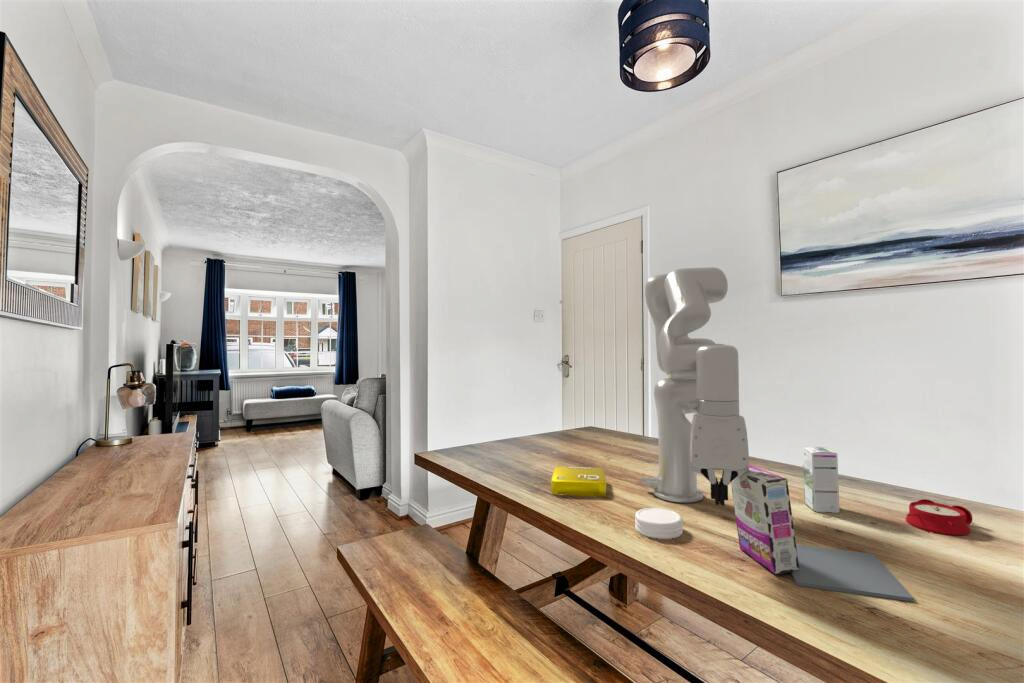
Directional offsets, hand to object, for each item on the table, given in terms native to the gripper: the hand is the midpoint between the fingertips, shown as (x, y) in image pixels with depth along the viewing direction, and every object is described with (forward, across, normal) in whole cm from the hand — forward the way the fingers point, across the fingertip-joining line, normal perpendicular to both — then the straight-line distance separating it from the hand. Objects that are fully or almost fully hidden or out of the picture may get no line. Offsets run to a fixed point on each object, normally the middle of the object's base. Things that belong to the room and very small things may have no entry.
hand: (719, 503), depth 89 cm
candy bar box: (+10, +8, 0) cm, 13 cm away
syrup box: (+10, +25, +34) cm, 44 cm away
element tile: (+11, -35, +33) cm, 49 cm away
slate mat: (+10, +19, 0) cm, 22 cm away
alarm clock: (+11, +47, +31) cm, 57 cm away
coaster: (+11, -12, +9) cm, 18 cm away
